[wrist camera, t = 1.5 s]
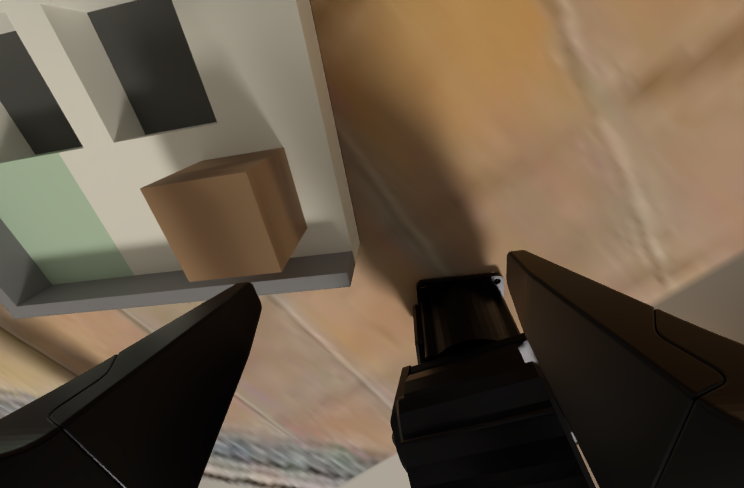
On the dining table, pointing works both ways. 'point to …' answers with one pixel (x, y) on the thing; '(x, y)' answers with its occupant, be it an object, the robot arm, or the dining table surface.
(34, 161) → the trap box
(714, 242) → the dining table surface
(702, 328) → the robot arm
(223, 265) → the walnut block
